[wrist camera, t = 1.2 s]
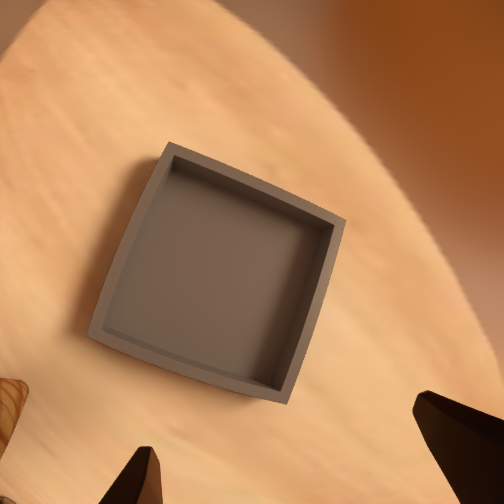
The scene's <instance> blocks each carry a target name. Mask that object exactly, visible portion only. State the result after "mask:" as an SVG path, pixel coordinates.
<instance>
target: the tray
mask: <svg viewBox="0 0 504 504" xmlns="http://www.w3.org/2000/svg"><path fill="white" fill-rule="evenodd" d="M345 223H346V220H345V219H343V218H341V217H339V216H337V215H335V214H333V213H331V212H329V211H327V210H325V209H323V208H321V207H319V206H317V205H315V204H313V203H311V202H309V201H307V200H304V199H302V198H300V197H298V196H296V195H294V194H292V193H290V192H287V191H285V190H283V189H281V188H279V187H276V186H274V185H272V184H270V183H268V182H265V181H263V180H261V179H259V178H256V177H254V176H252V175H250V174H247V173H245V172H243V171H240V170H238V169H236V168H233V167H231V166H229V165H226V164H224V163H221V162H219V161H217V160H214V159H212V158H209V157H207V156H204V155H202V154H200V153H197V152H195V151H192V150H189V149H187V148H184V147H182V146H179V145H177V144H174V143H172V142H168V144H167V146H166V147H165V149H164V151H163V153H162V155H161V157H160V159H159V161H158V163H157V164H156V166H155V168H154V170H153V172H152V174H151V176H150V178H149V180H148V182H147V184H146V186H145V189H144V191H143V193H142V195H141V197H140V199H139V201H138V203H137V205H136V208H135V210H134V212H133V214H132V216H131V219H130V221H129V223H128V225H127V228H126V230H125V232H124V235H123V237H122V239H121V242H120V244H119V247H118V249H117V251H116V254H115V256H114V259H113V261H112V264H111V266H110V269H109V272H108V274H107V277H106V280H105V282H104V285H103V288H102V290H101V293H100V296H99V299H98V302H97V305H96V307H95V310H94V313H93V316H92V319H91V322H90V325H89V329H88V332H87V335H86V337H89V338H91V339H93V340H95V341H97V342H99V343H102V344H104V345H106V346H108V347H111V348H113V349H115V350H118V351H120V352H122V353H125V354H127V355H130V356H132V357H135V358H137V359H140V360H142V361H145V362H147V363H150V364H153V365H155V366H158V367H161V368H163V369H166V370H169V371H172V372H175V373H177V374H180V375H183V376H186V377H189V378H192V379H195V380H198V381H201V382H205V383H208V384H211V385H214V386H217V387H221V388H224V389H228V390H231V391H235V392H238V393H242V394H246V395H249V396H253V397H257V398H261V399H265V400H269V401H273V402H278V403H282V404H286V405H287V403H288V400H289V398H290V395H291V392H292V390H293V387H294V385H295V382H296V379H297V376H298V374H299V371H300V368H301V365H302V363H303V360H304V357H305V354H306V351H307V349H308V346H309V343H310V340H311V337H312V334H313V331H314V328H315V325H316V322H317V319H318V316H319V313H320V309H321V306H322V303H323V300H324V297H325V294H326V290H327V287H328V284H329V280H330V277H331V274H332V270H333V267H334V263H335V260H336V256H337V253H338V249H339V245H340V242H341V238H342V234H343V230H344V227H345Z"/></svg>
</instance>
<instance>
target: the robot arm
mask: <svg viewBox="0 0 504 504" xmlns="http://www.w3.org/2000/svg"><path fill="white" fill-rule="evenodd" d="M413 416H414V418H415V420H416V422H417V424H418V427H419V429H420V431H421V433H422V435H423V438H424V440H425V442H426V444H427V446H428V448H429V450H430V451H431V453H432V455H433V456H434V458H435V460H436V462H437V463H438V465H439V467H440V468H441V470H442V472H443V474H444V475H445V477H446V479H447V480H448V482H449V484H450V486H451V487H452V489H453V491H454V493H455V495H456V496H457V498H458V500H459V502H460V504H504V420H502V419H500V418H497V417H494V416H492V415H489V414H486V413H484V412H481V411H479V410H476V409H473V408H471V407H468V406H466V405H463V404H461V403H458V402H456V401H453V400H451V399H448V398H446V397H444V396H441V395H439V394H436V393H434V392H432V391H429V390H427V391H424V392H421V393H419V394H418V395H417V398H416V401H415V404H414V406H413ZM99 504H163V498H162V486H161V472H160V463H159V460H158V458H157V456H156V454H155V451H154V449H153V448H152V447H150V446H141V447H139V448H138V449H137V450H136V452H135V453H134V455H133V456H132V457H131V459H130V460H129V462H128V463H127V464H126V466H125V467H124V469H123V470H122V471H121V473H120V474H119V476H118V477H117V478H116V480H115V481H114V483H113V484H112V485H111V487H110V488H109V490H108V491H107V492H106V494H105V495H104V497H103V498H102V499H101V501H100V502H99Z"/></svg>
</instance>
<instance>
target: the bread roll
mask: <svg viewBox="0 0 504 504" xmlns="http://www.w3.org/2000/svg"><path fill="white" fill-rule="evenodd" d="M0 504H16V503H15V502H13V501H12V500H10V499H7V498H4V497H3V498H2V497H0Z"/></svg>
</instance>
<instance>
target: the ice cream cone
mask: <svg viewBox="0 0 504 504" xmlns="http://www.w3.org/2000/svg"><path fill="white" fill-rule="evenodd" d="M28 393H29V389H28V386H27V384H26V383H25V382H23V381H21V380H11V379H2V378H0V459H1V457H2V455H3V453H4V451H5V449H6V447H7V445H8V443H9V441H10V438H11V436H12V434H13V432H14V429H15V427H16V424H17V422H18V419H19V417H20V414H21V411H22V409H23V406H24V404H25V401H26V399H27V396H28Z"/></svg>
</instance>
